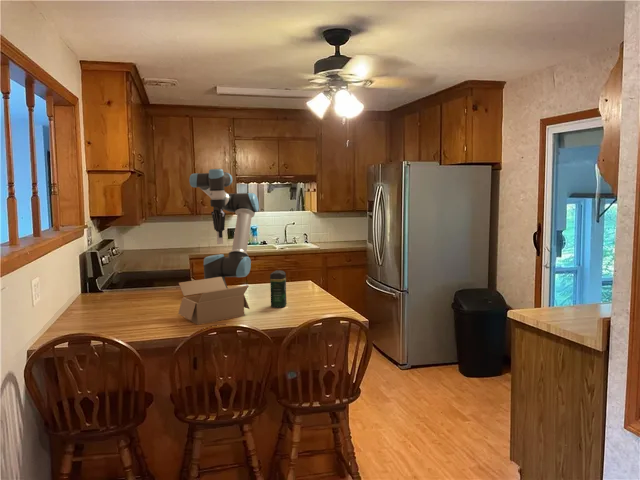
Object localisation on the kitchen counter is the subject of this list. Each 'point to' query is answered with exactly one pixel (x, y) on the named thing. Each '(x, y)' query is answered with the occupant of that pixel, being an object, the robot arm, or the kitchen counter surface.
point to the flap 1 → (202, 286)
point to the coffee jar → (278, 289)
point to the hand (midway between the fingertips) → (220, 243)
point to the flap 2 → (223, 293)
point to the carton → (212, 309)
